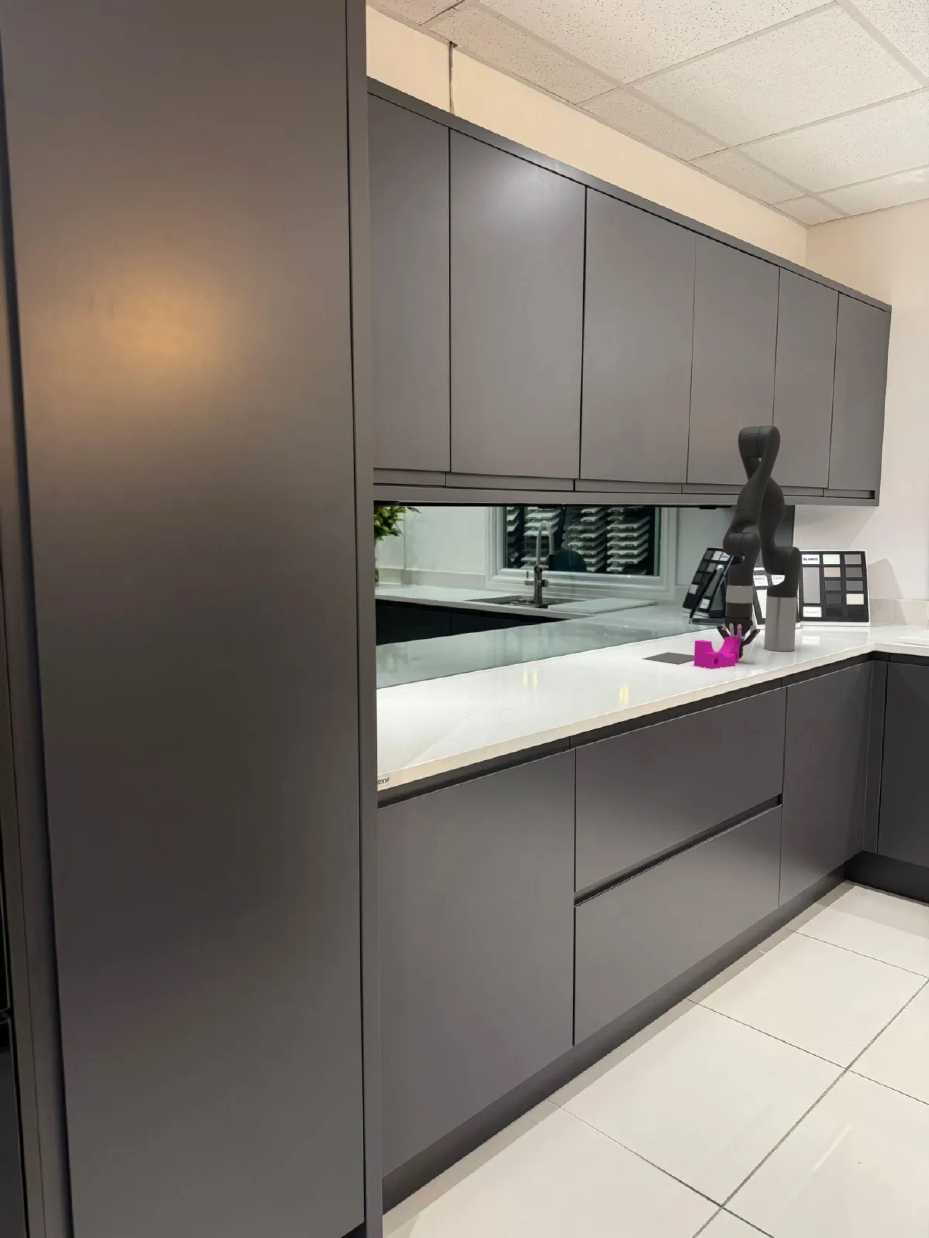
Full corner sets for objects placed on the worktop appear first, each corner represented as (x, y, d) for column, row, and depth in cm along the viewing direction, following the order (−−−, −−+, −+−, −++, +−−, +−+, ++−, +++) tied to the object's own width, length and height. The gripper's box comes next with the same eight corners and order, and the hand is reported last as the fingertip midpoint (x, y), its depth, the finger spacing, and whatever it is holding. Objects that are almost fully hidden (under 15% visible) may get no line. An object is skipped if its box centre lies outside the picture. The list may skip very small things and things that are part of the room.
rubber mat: (667, 654, 270) (667, 652, 270) (703, 658, 262) (703, 656, 262) (641, 660, 258) (641, 658, 258) (678, 665, 250) (678, 663, 250)
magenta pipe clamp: (711, 669, 244) (712, 643, 243) (693, 666, 250) (694, 640, 249) (745, 664, 253) (746, 639, 252) (728, 661, 258) (729, 636, 257)
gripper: (766, 601, 252) (763, 659, 255) (723, 597, 261) (721, 654, 263) (756, 603, 247) (753, 663, 249) (712, 599, 256) (710, 657, 258)
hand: (736, 658), depth 256 cm, fingers closed
